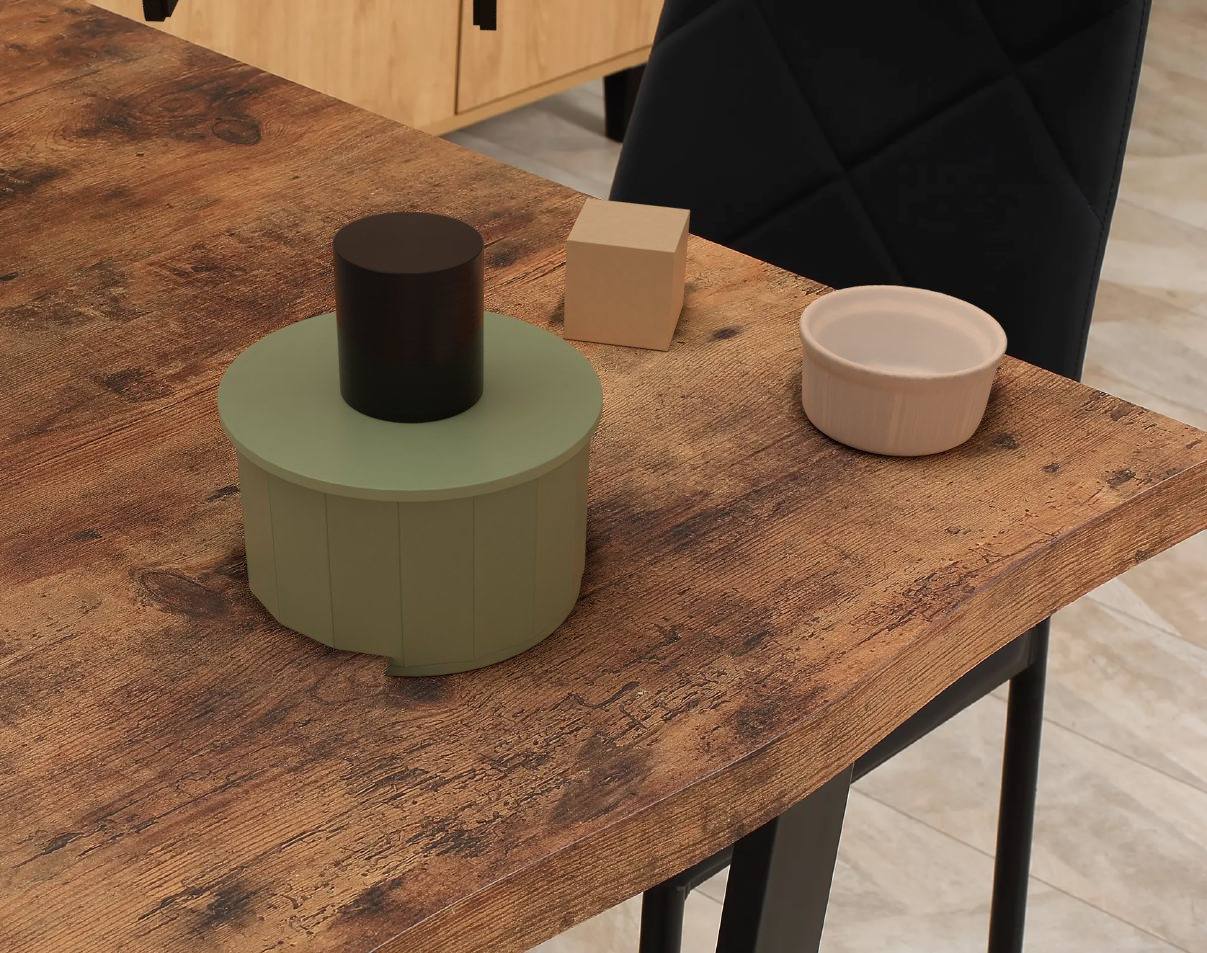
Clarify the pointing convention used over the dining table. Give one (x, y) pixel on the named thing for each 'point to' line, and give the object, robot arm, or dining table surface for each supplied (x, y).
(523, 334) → the tin lid
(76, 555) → the dining table surface
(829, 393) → the ramekin
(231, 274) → the dining table surface
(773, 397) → the dining table surface
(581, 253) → the tan cube
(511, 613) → the tin
